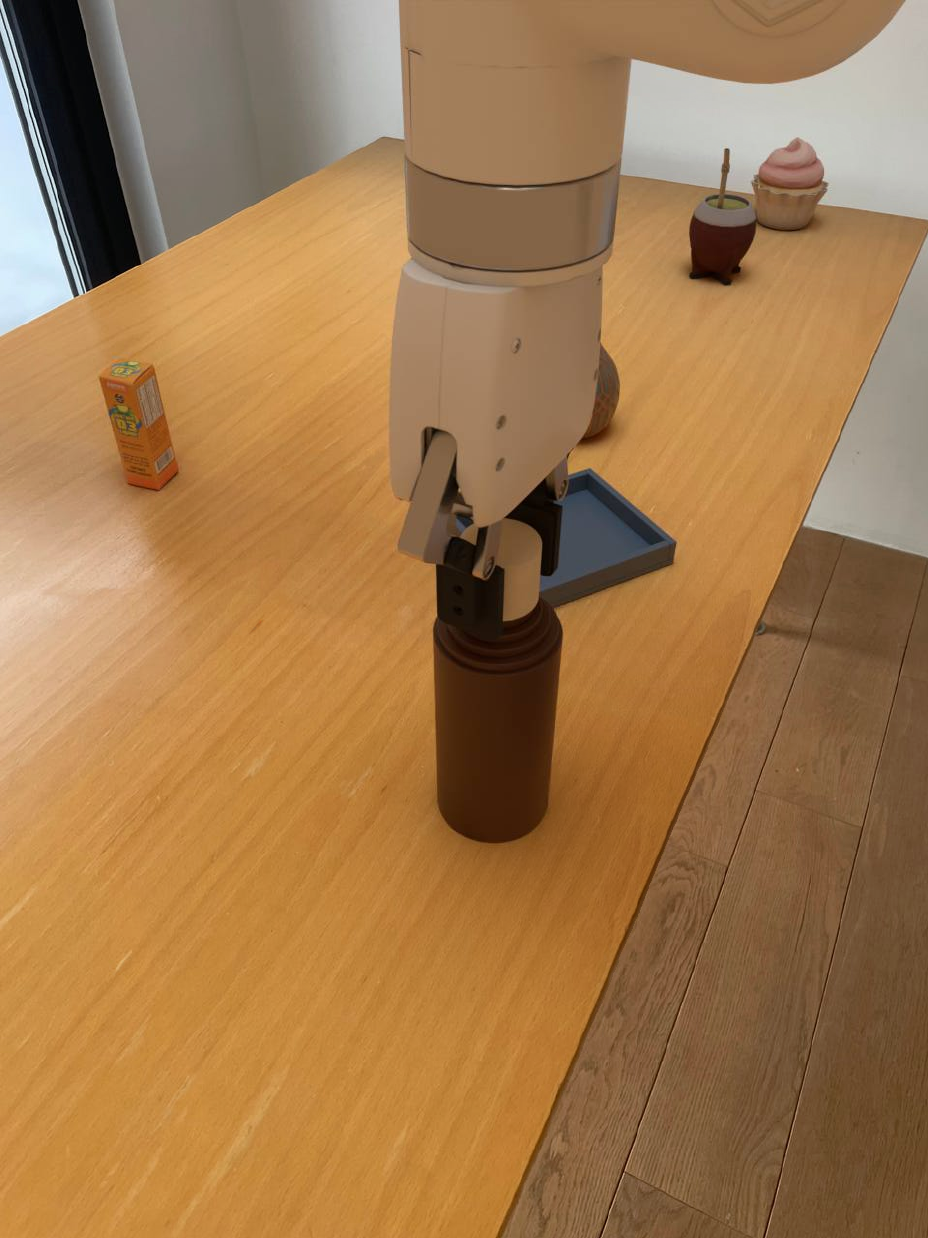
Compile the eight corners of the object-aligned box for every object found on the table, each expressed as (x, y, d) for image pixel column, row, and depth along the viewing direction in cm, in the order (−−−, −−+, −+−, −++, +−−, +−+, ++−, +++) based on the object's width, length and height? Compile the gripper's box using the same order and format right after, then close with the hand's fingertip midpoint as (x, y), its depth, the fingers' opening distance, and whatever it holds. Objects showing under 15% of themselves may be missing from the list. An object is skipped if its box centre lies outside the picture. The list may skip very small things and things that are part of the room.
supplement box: (123, 485, 82) (93, 373, 75) (147, 463, 85) (120, 353, 78) (158, 493, 81) (131, 381, 75) (181, 471, 84) (157, 360, 77)
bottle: (511, 740, 61) (523, 495, 50) (569, 814, 57) (597, 566, 45) (418, 780, 59) (406, 532, 47) (471, 860, 55) (473, 611, 43)
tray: (588, 488, 82) (590, 467, 81) (673, 563, 75) (677, 541, 73) (444, 535, 77) (444, 513, 76) (520, 620, 70) (521, 598, 68)
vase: (631, 433, 88) (643, 339, 82) (570, 457, 85) (577, 361, 80) (581, 400, 93) (589, 309, 87) (521, 422, 90) (525, 329, 84)
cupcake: (728, 215, 128) (742, 130, 121) (787, 204, 131) (805, 121, 124) (774, 240, 121) (792, 153, 115) (836, 228, 124) (857, 142, 118)
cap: (513, 562, 50) (515, 509, 48) (555, 605, 48) (559, 551, 45) (445, 585, 49) (444, 532, 47) (484, 632, 46) (485, 577, 44)
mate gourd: (726, 258, 117) (751, 119, 107) (762, 285, 112) (791, 141, 102) (668, 266, 116) (688, 126, 106) (702, 294, 110) (726, 148, 100)
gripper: (531, 129, 43) (516, 487, 55) (278, 264, 32) (328, 673, 44) (697, 158, 40) (643, 529, 52) (481, 318, 29) (475, 740, 41)
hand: (498, 592), depth 48 cm, fingers open, 4 cm apart
